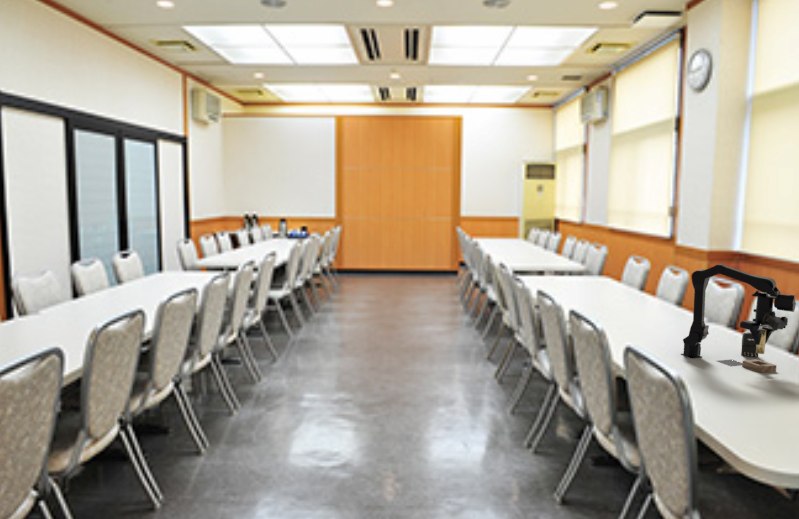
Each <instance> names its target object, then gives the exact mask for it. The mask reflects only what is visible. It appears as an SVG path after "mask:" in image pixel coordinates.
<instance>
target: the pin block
mask: <svg viewBox="0 0 799 519" xmlns="http://www.w3.org/2000/svg"><path fill="white" fill-rule="evenodd" d="M741 363H742V365H741V367H743V368H744V369H747V370H748V369H749V370H751V371H753V372H757V373H760V374H764V373H765V374H767V373H776V372H777V364H773V363H769V362H767V361H764V360H761V359H758V358H757V359H746V360H742V362H741Z"/></svg>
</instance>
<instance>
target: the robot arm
mask: <svg viewBox="0 0 799 519" xmlns="http://www.w3.org/2000/svg"><path fill="white" fill-rule="evenodd" d="M716 275H722V276H725V277H728V278H730V279H733V280H736V281H739V282H742V283H745V284H748V285H749V286H750V287H752V288H754V289H756V291H755V292H754V293H752V294H751V296H752V297H756V306H755V307H756V308H754V309H753V312H754V313H755V317H754V318H752V320H742V321H740V322H739V328H741V329H745V330H748V331H749V332H751V334H752V336H753V338H754V340H755V343H756V345H759V344H760V339H761V334H762V333H763V332H764V331H765V330H767V331H766V342H765V345H766V344H767V342H768V340H769V339H770V337H771V335H772V334H773V333H774V332H775V331H778V330H783V329H786V326H788V322H789V321H788V320H789V319H788V317H787V316H776V311H774V310H773V308H775V309H776V310H777V311H783V312H792V313H794V312H795V309H796V305H797V302H796V295H795V294H785V293H782V292H781V291H780V289H779V288H778V287H777V282H776V281H775V279H774V278H771V277H767V276H762V275H755V274H750V273H749V272H746V271H742V270H739V269H736V268H733V267H730V266H727V265H725V264H724V263H718V264H715V265H714V266H711V267H709V268H707V269H701V268H700V269H698V270H695V271H693V272H692V273H691V283H692V287H693V290H694V295H693V318H692V323H691V326H690V328H689V333H688V335H687V336H686V337H683V339H682V341H683V353H680V356H683V357H686V358H689V359H701V358H703V355H702V356H701V350H702V346H701V343H702V341H703V340H705V339H706V338H707V336H708V335H710V333H709V328H710V326H709V325H708V324H707V325H706V323H705V308H706V307H705V306H706V290H707V288H708V285H709V282H710V278H711V277H714V276H716ZM762 329H765V330H762Z"/></svg>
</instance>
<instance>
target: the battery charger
mask: <svg viewBox="0 0 799 519" xmlns="http://www.w3.org/2000/svg"><path fill="white" fill-rule="evenodd" d="M756 346H757V345H756V343H755V340H754V338H753V336H752V334H751V332H750V331H744V332H743V333H742V336H741V350H740V351H741V352H740V355H741V356H742V357H745V356H746V358H757V359H758V358H759V353H756Z"/></svg>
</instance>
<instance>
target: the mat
mask: <svg viewBox="0 0 799 519" xmlns="http://www.w3.org/2000/svg"><path fill="white" fill-rule="evenodd" d="M732 360H733V361H732ZM737 361H738V360H735V359H722V360H716V362H718V363H721V364H724V365H726V366H728V367H738V366H739V367H740V366H742V363H743V362H741V361H738V362H737Z"/></svg>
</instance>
